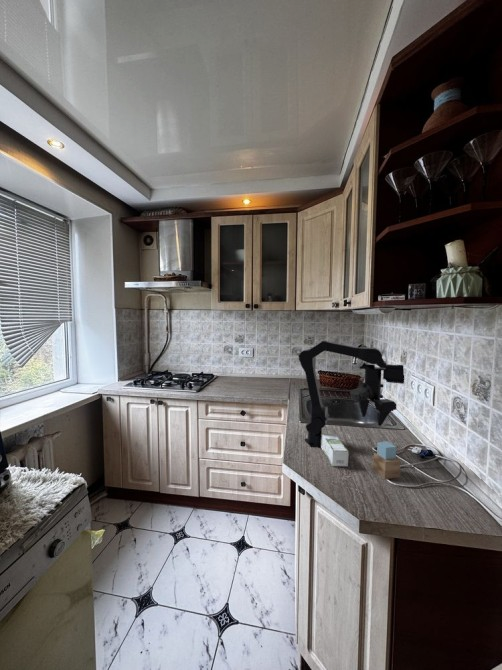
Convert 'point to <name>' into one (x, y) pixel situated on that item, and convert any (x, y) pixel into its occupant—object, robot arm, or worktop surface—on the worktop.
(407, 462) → the worktop surface
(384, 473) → the tower base
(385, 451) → the blue block
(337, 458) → the syrup box
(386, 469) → the tower mid
